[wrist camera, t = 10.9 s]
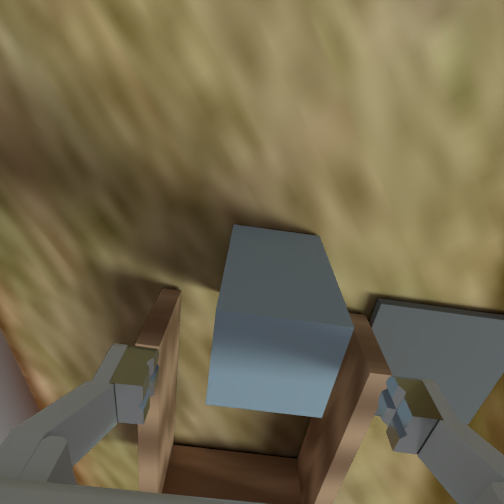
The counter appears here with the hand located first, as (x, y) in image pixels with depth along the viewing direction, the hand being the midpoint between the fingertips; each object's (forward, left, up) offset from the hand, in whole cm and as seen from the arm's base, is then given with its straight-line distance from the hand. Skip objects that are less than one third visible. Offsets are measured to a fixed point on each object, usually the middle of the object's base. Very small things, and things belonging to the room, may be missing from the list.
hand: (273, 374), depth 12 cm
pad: (-7, -12, -9) cm, 17 cm away
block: (-1, 0, -9) cm, 9 cm away
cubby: (-11, 0, -9) cm, 14 cm away
